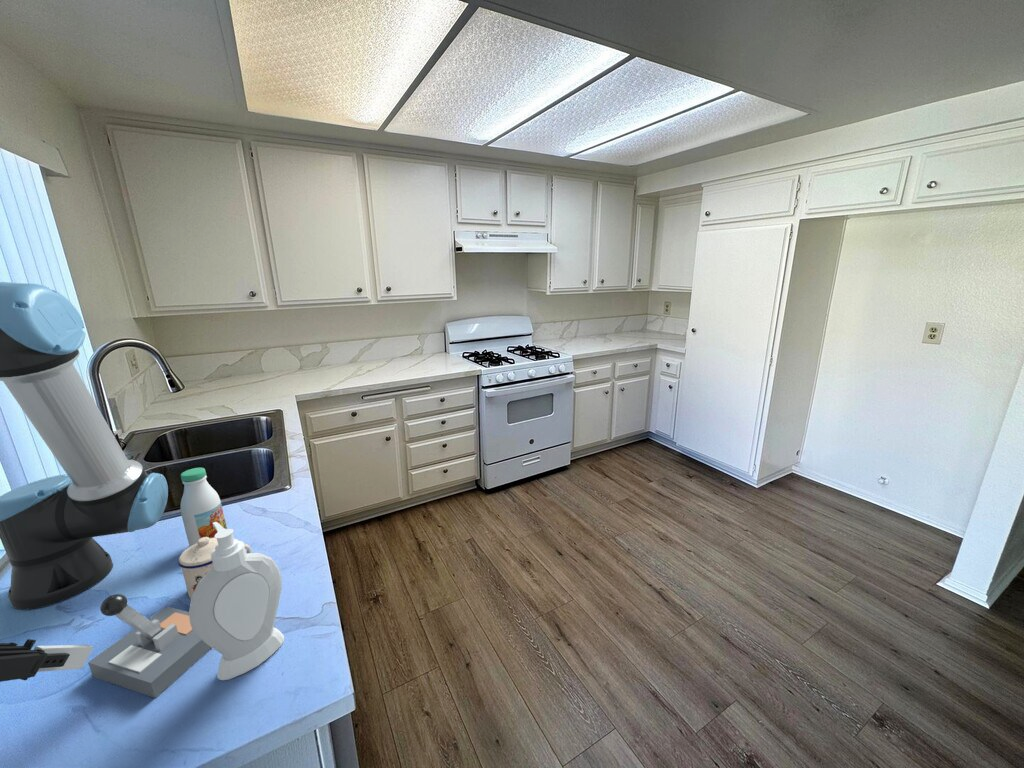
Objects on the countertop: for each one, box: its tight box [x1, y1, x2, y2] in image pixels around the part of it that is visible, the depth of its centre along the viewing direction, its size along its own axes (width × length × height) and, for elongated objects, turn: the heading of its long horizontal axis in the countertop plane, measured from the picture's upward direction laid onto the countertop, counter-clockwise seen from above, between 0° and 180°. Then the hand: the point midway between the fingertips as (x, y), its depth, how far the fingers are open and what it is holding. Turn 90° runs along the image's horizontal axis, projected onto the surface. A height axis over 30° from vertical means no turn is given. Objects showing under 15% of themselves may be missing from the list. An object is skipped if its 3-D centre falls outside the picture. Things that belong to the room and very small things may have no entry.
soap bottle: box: [188, 522, 285, 681], centre depth 67 cm, size 13×8×24 cm, turn 140°
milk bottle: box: [180, 467, 228, 548], centre depth 97 cm, size 8×8×20 cm
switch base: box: [87, 606, 213, 699], centre depth 70 cm, size 12×14×5 cm
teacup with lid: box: [177, 537, 252, 600], centre depth 85 cm, size 12×9×12 cm
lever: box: [100, 593, 163, 642], centre depth 66 cm, size 3×3×13 cm
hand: (84, 656), depth 60 cm, fingers closed
